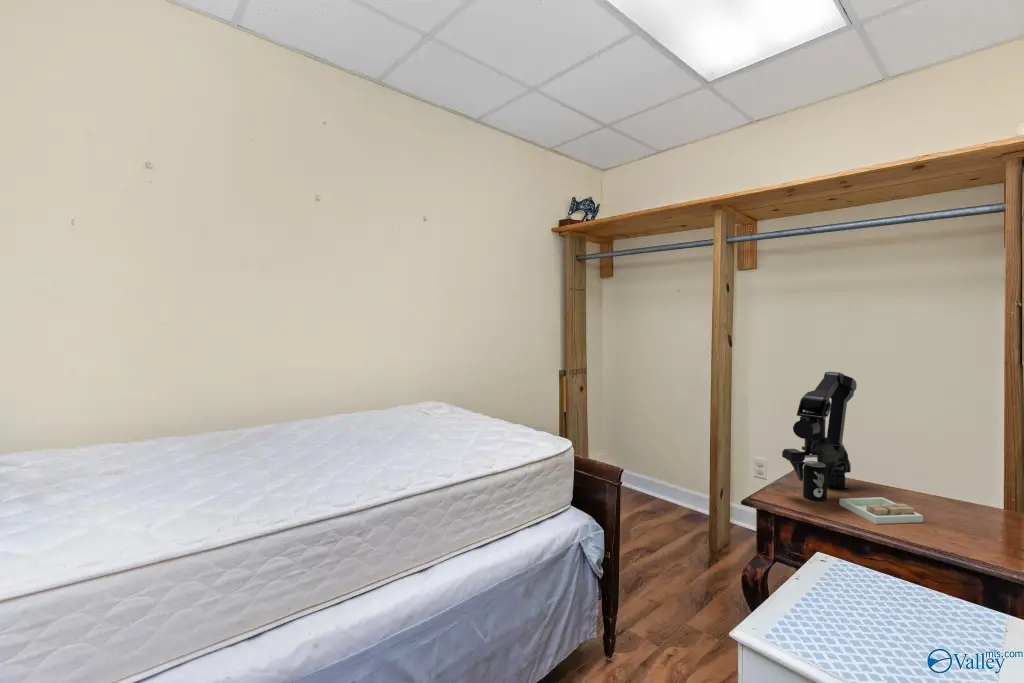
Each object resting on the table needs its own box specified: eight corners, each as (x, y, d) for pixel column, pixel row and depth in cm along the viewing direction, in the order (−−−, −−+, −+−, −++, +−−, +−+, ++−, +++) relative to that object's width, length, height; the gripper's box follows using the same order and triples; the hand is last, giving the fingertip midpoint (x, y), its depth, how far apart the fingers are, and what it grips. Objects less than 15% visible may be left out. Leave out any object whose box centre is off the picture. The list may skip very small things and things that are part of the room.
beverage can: (806, 502, 151) (807, 465, 150) (800, 494, 157) (800, 460, 157) (829, 504, 149) (830, 467, 148) (822, 496, 155) (823, 461, 155)
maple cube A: (866, 516, 138) (866, 504, 138) (877, 516, 138) (877, 504, 138) (875, 521, 134) (876, 509, 134) (887, 521, 135) (887, 509, 134)
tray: (839, 506, 147) (839, 498, 147) (882, 504, 148) (882, 497, 147) (875, 525, 133) (875, 517, 133) (922, 524, 134) (922, 515, 133)
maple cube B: (879, 516, 138) (879, 504, 138) (888, 515, 139) (888, 503, 138) (891, 521, 134) (891, 509, 134) (900, 520, 135) (900, 508, 135)
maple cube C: (892, 515, 139) (892, 503, 138) (904, 515, 138) (905, 503, 138) (900, 520, 135) (901, 508, 135) (913, 520, 135) (914, 508, 135)
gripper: (803, 440, 143) (803, 490, 144) (862, 438, 144) (861, 488, 145) (781, 431, 155) (781, 477, 155) (835, 430, 155) (835, 476, 156)
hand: (814, 480), depth 153 cm, fingers open, 9 cm apart
